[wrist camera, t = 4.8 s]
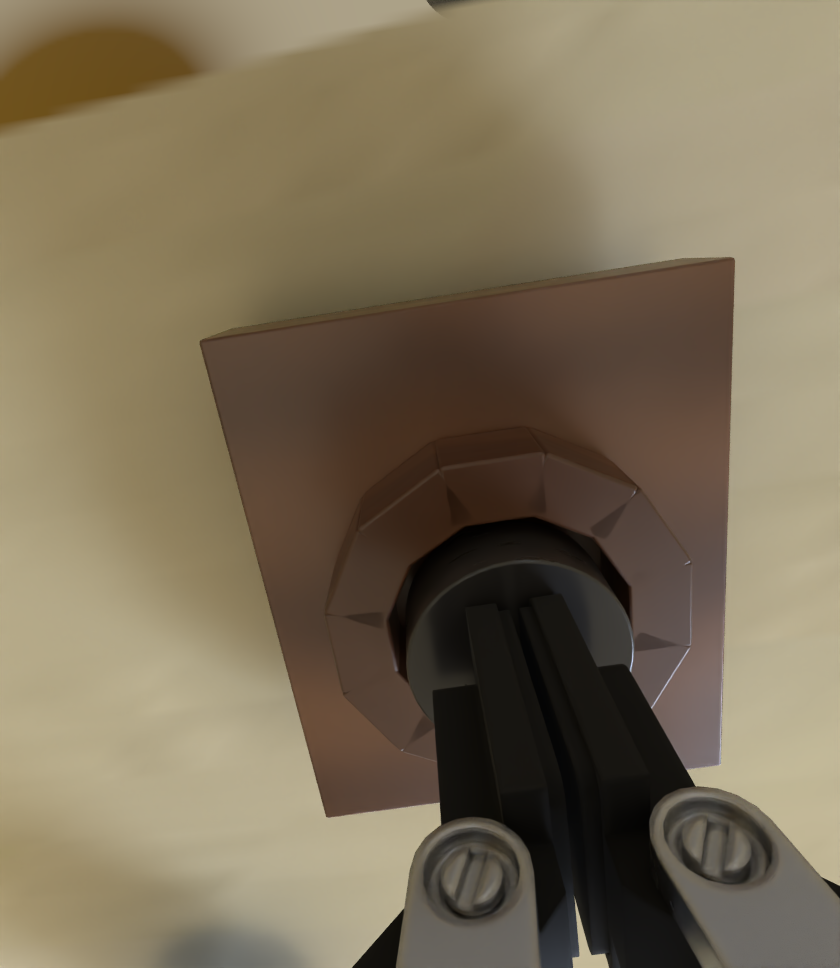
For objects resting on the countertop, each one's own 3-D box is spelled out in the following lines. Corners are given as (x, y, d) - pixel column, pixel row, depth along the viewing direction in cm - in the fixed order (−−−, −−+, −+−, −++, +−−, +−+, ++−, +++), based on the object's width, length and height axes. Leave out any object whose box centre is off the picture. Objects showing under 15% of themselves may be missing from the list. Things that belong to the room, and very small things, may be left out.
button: (390, 534, 12) (388, 579, 10) (599, 504, 11) (632, 544, 10) (421, 703, 13) (423, 767, 11) (608, 677, 13) (638, 738, 11)
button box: (229, 328, 13) (161, 353, 10) (684, 257, 13) (797, 255, 9) (334, 753, 17) (316, 888, 14) (683, 705, 17) (762, 829, 13)
